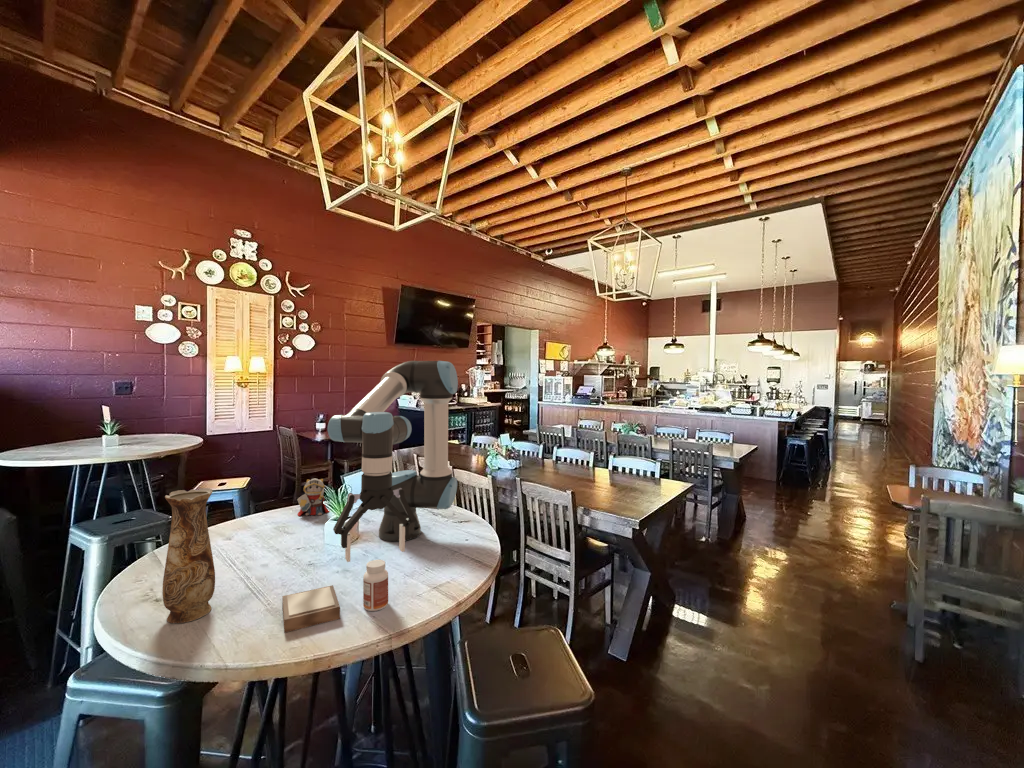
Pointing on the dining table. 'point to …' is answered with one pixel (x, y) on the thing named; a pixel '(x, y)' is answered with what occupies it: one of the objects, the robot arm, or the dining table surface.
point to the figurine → (312, 498)
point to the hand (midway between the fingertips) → (375, 554)
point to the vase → (188, 558)
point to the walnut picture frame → (310, 608)
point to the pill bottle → (375, 586)
